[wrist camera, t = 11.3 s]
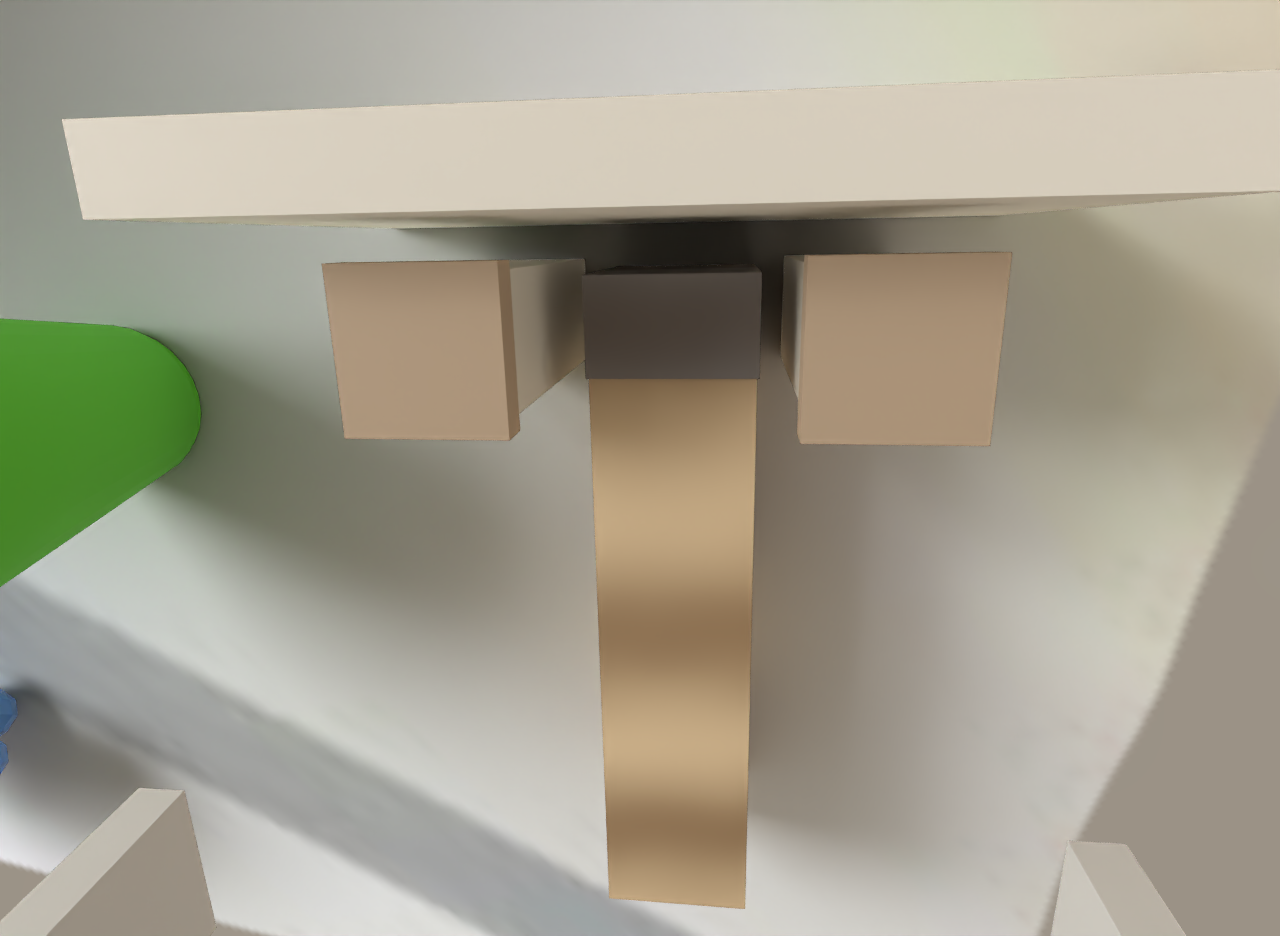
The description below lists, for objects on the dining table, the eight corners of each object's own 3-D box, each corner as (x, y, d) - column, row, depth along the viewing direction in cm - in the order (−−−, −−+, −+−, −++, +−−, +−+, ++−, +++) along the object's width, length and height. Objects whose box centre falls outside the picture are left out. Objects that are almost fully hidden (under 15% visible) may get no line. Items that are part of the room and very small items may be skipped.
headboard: (407, 363, 25) (135, 467, 14) (388, 177, 23) (61, 119, 12) (983, 362, 23) (1230, 485, 12) (1006, 158, 21) (1318, 67, 10)
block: (619, 266, 23) (581, 275, 18) (754, 263, 23) (762, 272, 17) (632, 766, 29) (606, 900, 23) (744, 772, 28) (746, 911, 22)
